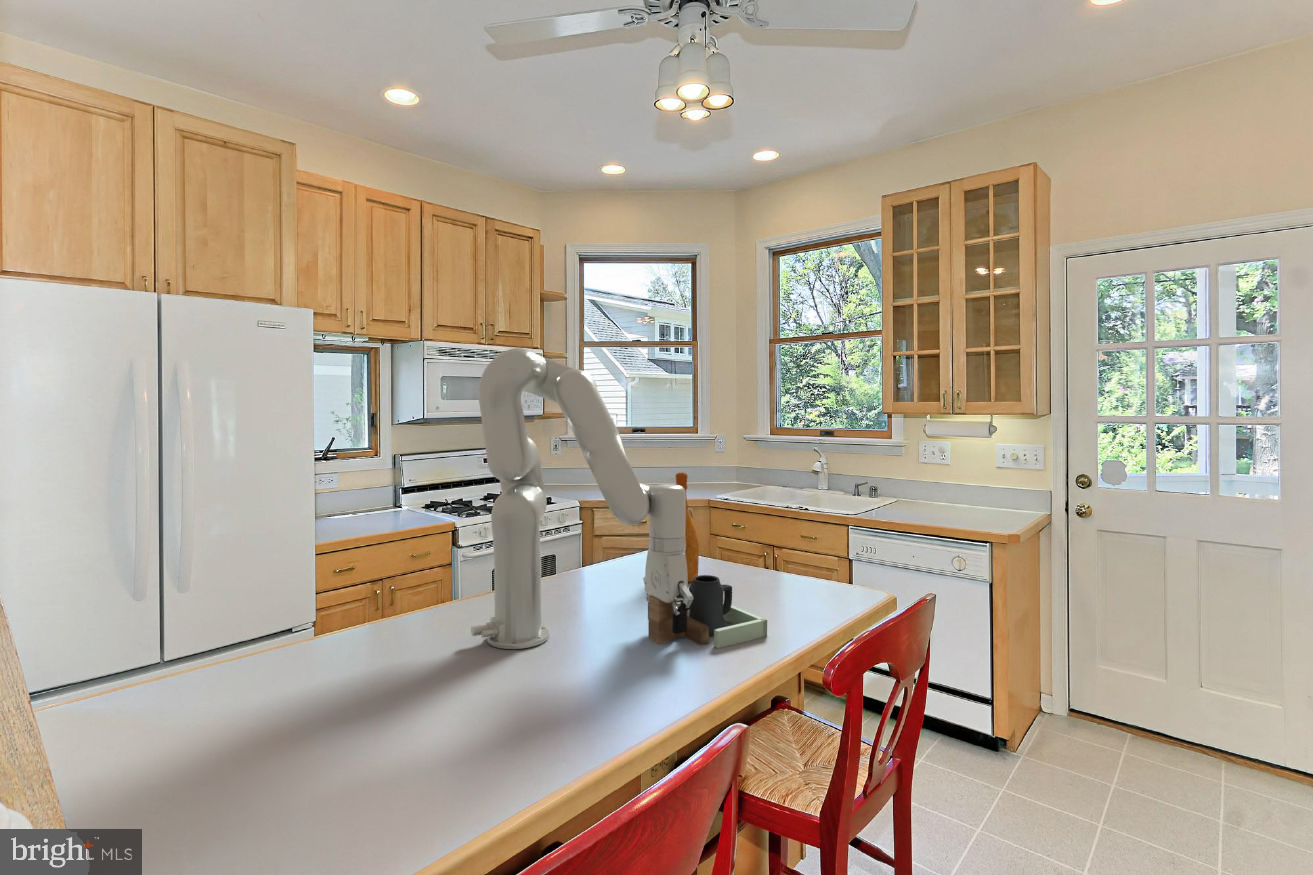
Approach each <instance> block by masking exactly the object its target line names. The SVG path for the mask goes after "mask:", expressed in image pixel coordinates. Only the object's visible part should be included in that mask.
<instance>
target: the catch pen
mask: <svg viewBox="0 0 1313 875" xmlns="http://www.w3.org/2000/svg"><path fill="white" fill-rule="evenodd" d="M723 604H724V601H723ZM677 605H678V608H679V606H680V605H681V603H680V602H679V603H677ZM689 611H690V609H689ZM687 616H688V617H689V612H688V613H687ZM723 618H724V620H725V622H728V623H730V624H732V625H728V626H726V627H723V628H719V629H715V630H714V636H713V647H714V648H716V649H721V648H724V647H730V646H733V645H737V644H741V643H745V642H746V643H747V642H750V641H752V640H758V639H761V638H765V637H767V636H768V619H766V618H764V617H762V616H759V615H757V614H753V613H752V612H749V611H746V610H745V609H742V608H740V607H738V606H735V605H731V608H730V610H729V612H728V613H726V614H724V615H723Z"/></svg>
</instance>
